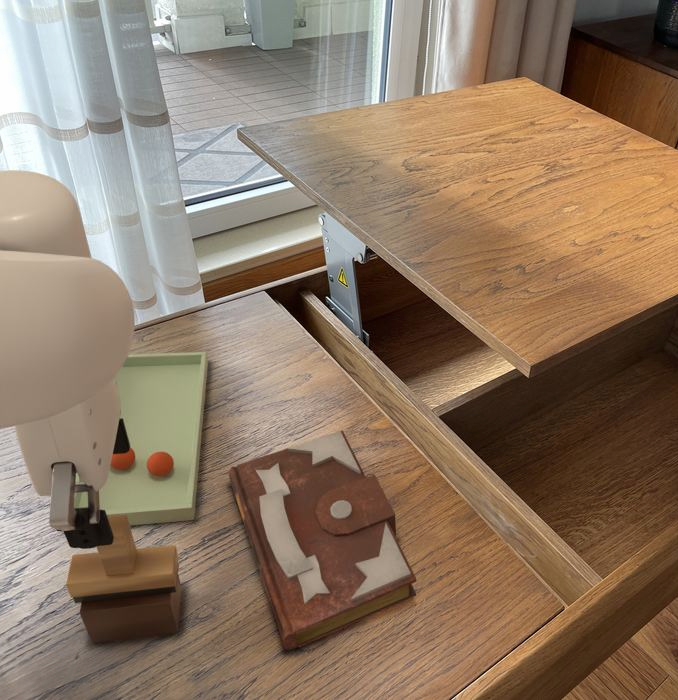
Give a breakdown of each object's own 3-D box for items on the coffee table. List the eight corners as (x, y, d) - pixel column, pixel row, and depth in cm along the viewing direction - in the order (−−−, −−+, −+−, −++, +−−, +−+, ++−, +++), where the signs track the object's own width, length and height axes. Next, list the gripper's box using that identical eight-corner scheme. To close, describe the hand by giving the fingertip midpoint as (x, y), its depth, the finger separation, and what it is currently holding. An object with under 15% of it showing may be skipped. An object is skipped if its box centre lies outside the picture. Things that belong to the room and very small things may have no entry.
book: (232, 489, 88) (225, 464, 85) (351, 448, 94) (349, 423, 90) (287, 656, 73) (281, 633, 70) (424, 595, 79) (425, 572, 76)
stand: (177, 633, 73) (169, 602, 69) (92, 644, 71) (78, 612, 67) (182, 589, 76) (174, 557, 73) (100, 598, 75) (88, 566, 71)
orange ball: (135, 474, 86) (131, 457, 84) (108, 476, 85) (103, 459, 84) (138, 455, 88) (134, 438, 86) (112, 456, 88) (107, 440, 86)
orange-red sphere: (174, 480, 86) (170, 464, 84) (147, 482, 85) (143, 466, 84) (176, 461, 88) (173, 445, 86) (150, 463, 88) (146, 447, 86)
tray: (194, 520, 83) (191, 507, 82) (69, 531, 80) (64, 518, 78) (208, 364, 103) (206, 351, 101) (108, 368, 100) (104, 355, 98)
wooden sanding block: (177, 593, 70) (163, 536, 64) (73, 604, 68) (49, 546, 61) (180, 564, 72) (167, 506, 66) (80, 574, 70) (57, 516, 64)
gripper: (23, 274, 56) (74, 423, 67) (-46, 443, 43) (30, 591, 54) (128, 273, 57) (160, 418, 69) (90, 434, 45) (136, 580, 56)
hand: (102, 494), depth 61 cm, fingers open, 9 cm apart
